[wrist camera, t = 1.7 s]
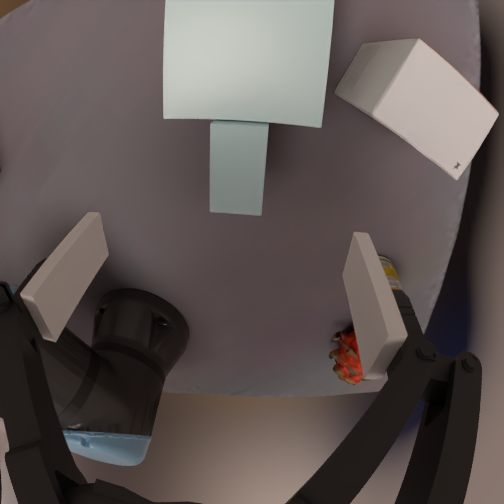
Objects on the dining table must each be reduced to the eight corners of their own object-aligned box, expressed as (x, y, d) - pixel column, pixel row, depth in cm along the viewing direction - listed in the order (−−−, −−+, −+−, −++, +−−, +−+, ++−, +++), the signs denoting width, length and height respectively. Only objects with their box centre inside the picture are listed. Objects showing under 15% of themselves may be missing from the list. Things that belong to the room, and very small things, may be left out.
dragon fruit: (340, 352, 51) (356, 294, 46) (383, 372, 46) (407, 315, 41) (315, 382, 45) (330, 322, 40) (363, 406, 40) (389, 348, 35)
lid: (304, 191, 29) (309, 220, 25) (180, 182, 29) (163, 209, 25) (328, -56, 15) (341, -78, 11) (187, -61, 15) (169, -82, 11)
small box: (425, 87, 25) (502, 115, 15) (396, 134, 29) (457, 184, 18) (361, 41, 24) (419, 35, 13) (330, 92, 27) (369, 117, 16)
